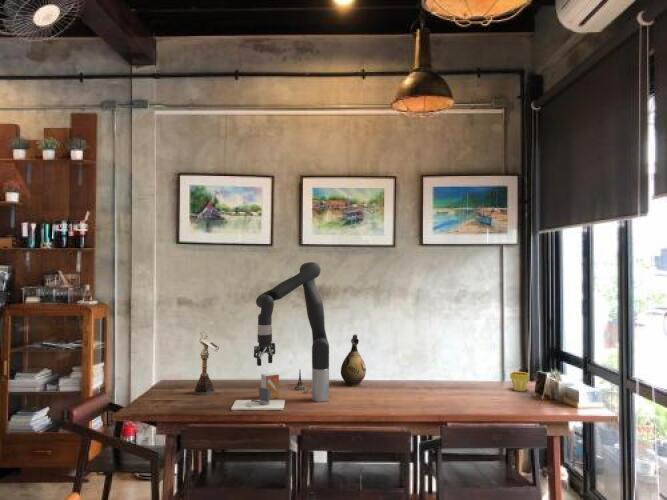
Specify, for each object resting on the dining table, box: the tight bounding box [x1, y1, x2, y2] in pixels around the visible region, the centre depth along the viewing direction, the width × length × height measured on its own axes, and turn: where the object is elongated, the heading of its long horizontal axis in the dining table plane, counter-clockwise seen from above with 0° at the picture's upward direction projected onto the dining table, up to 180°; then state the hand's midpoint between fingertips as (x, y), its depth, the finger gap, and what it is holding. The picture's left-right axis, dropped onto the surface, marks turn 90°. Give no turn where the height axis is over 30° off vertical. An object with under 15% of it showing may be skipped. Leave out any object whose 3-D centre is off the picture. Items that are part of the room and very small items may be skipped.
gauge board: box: [230, 399, 286, 411], centre depth 290 cm, size 26×16×2 cm, turn 91°
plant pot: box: [509, 371, 530, 392], centre depth 328 cm, size 10×10×10 cm
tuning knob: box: [251, 386, 271, 405], centre depth 291 cm, size 12×5×8 cm, turn 56°
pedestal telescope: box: [193, 332, 220, 396], centre depth 320 cm, size 17×13×35 cm
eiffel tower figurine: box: [293, 369, 311, 394], centre depth 327 cm, size 15×10×13 cm
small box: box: [260, 372, 280, 400], centre depth 309 cm, size 8×6×13 cm
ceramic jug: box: [340, 334, 367, 387], centre depth 342 cm, size 17×15×30 cm
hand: (264, 364), depth 290 cm, fingers open, 8 cm apart
